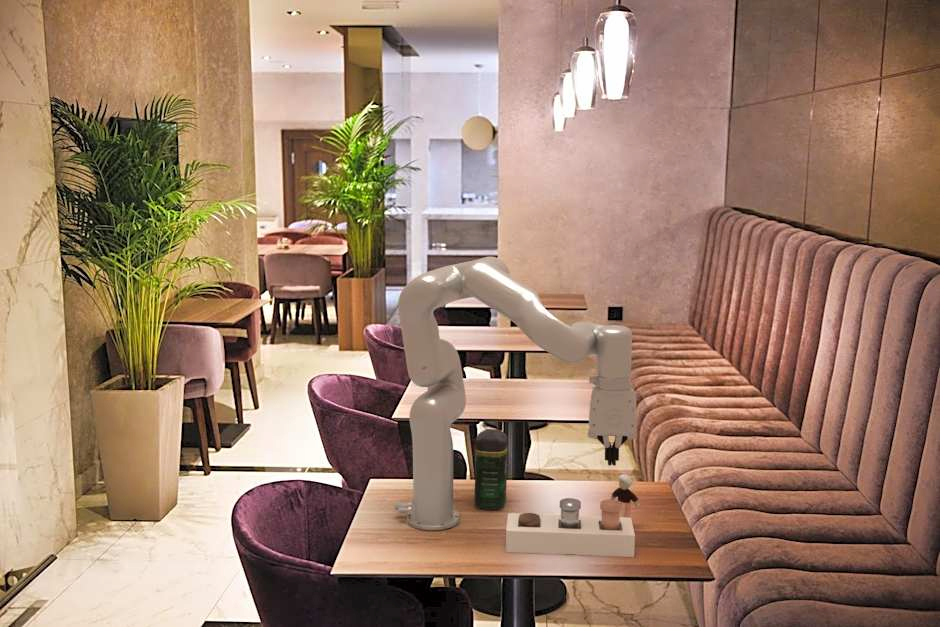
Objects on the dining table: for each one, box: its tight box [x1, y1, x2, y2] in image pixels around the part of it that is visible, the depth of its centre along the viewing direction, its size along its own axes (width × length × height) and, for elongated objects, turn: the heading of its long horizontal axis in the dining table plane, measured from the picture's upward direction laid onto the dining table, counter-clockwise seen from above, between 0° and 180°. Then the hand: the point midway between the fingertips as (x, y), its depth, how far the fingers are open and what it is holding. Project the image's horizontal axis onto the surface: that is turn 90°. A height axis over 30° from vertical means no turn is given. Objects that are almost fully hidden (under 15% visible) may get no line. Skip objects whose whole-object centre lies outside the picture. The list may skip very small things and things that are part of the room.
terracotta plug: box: [599, 499, 622, 530], centre depth 214 cm, size 5×5×6 cm
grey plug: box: [559, 497, 582, 529], centre depth 215 cm, size 5×5×6 cm
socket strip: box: [505, 512, 636, 558], centre depth 216 cm, size 28×10×5 cm, turn 85°
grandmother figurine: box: [609, 473, 641, 518], centre depth 226 cm, size 8×4×13 cm, turn 62°
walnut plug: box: [519, 512, 540, 527], centre depth 216 cm, size 5×5×6 cm
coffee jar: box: [474, 428, 508, 511], centre depth 239 cm, size 10×8×19 cm
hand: (611, 463), depth 212 cm, fingers closed
